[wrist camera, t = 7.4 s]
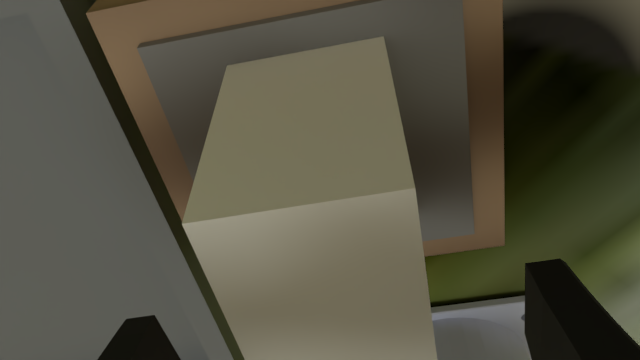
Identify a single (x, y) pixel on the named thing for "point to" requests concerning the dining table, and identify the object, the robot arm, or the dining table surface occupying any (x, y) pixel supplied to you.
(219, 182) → the block
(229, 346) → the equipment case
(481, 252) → the dining table surface
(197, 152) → the stand
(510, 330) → the robot arm
